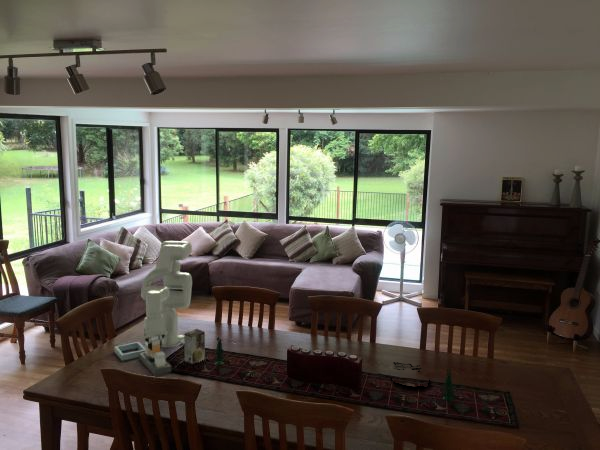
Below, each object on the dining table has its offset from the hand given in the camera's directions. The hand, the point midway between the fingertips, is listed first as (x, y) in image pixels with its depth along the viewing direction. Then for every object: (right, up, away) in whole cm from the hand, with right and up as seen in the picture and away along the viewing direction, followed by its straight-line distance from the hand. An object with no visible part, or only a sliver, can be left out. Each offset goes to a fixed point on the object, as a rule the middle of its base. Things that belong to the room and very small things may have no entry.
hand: (154, 348), depth 258 cm
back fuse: (-5, -8, +7) cm, 11 cm away
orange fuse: (0, -4, +1) cm, 4 cm away
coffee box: (+18, -9, +9) cm, 23 cm away
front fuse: (+4, -10, -5) cm, 12 cm away
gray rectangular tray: (0, -10, +1) cm, 10 cm away
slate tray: (-17, -7, +14) cm, 23 cm away
